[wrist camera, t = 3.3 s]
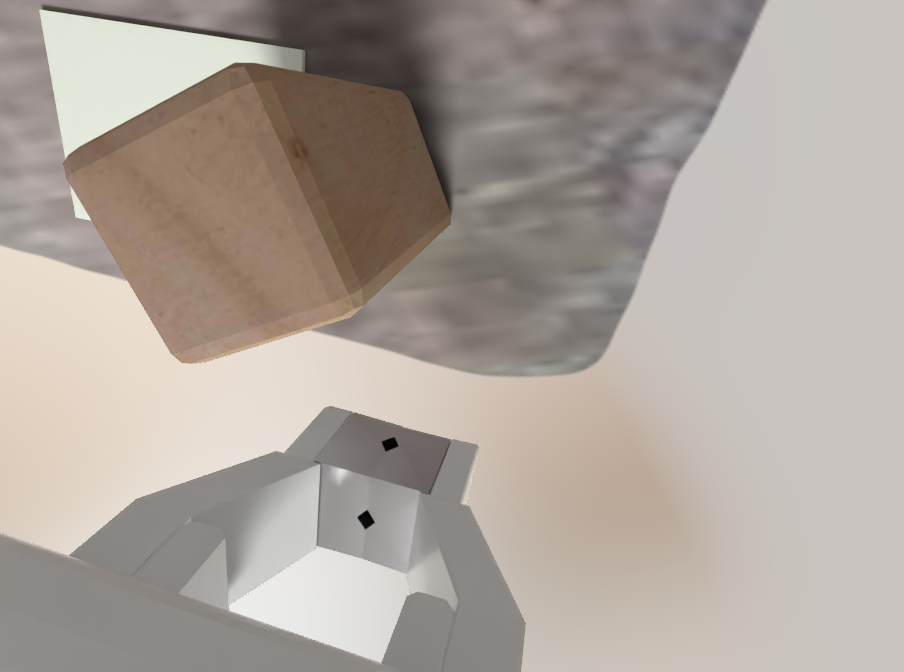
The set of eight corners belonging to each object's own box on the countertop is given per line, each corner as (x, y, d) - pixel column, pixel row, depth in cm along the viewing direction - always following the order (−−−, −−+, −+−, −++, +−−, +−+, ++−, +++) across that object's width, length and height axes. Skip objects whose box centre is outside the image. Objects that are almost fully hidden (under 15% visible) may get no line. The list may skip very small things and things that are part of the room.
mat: (305, 50, 35) (302, 49, 35) (301, 266, 42) (298, 267, 41) (44, 10, 38) (39, 9, 38) (79, 216, 45) (75, 217, 45)
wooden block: (408, 85, 34) (240, 46, 16) (457, 223, 37) (363, 319, 19) (290, 139, 37) (39, 157, 19) (345, 263, 40) (173, 377, 22)
